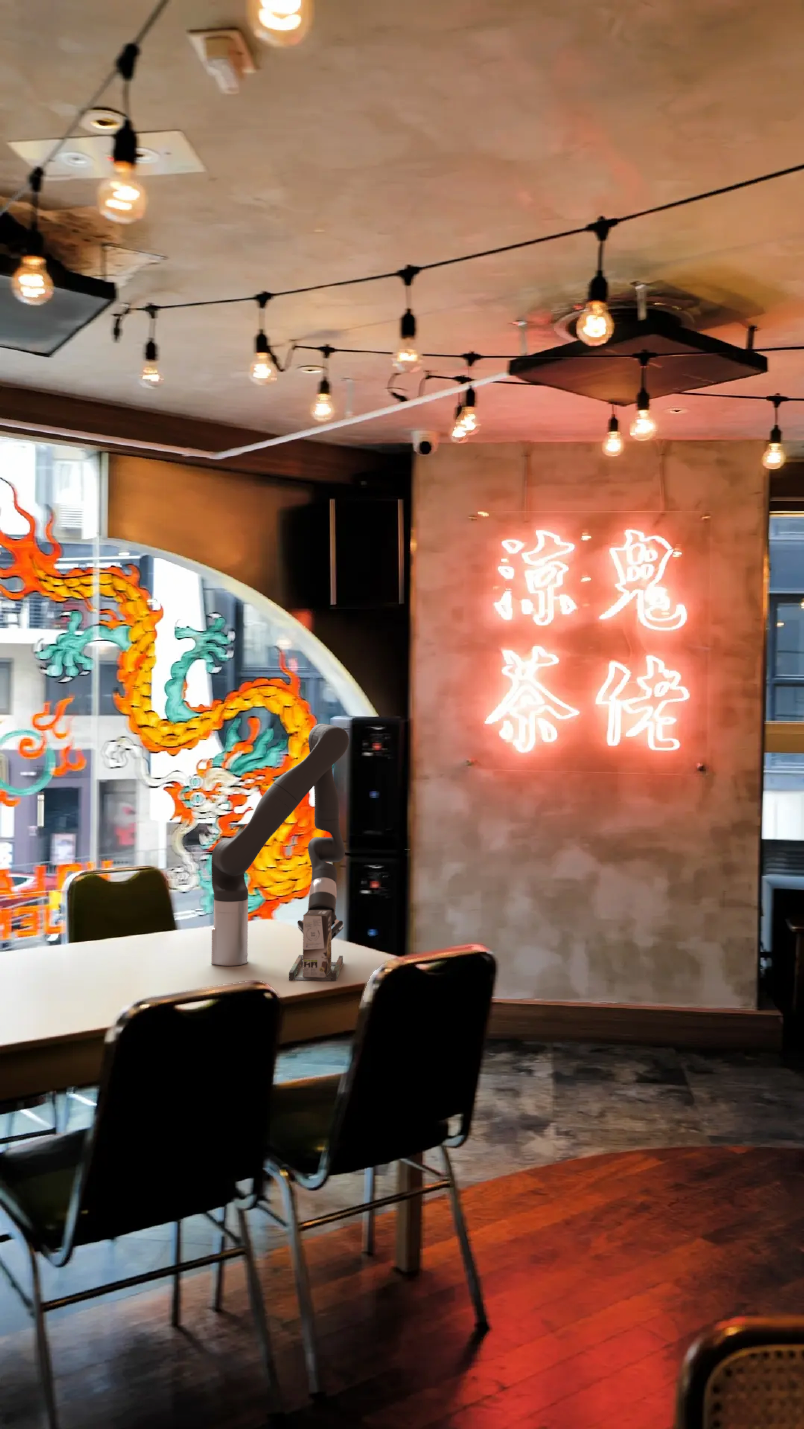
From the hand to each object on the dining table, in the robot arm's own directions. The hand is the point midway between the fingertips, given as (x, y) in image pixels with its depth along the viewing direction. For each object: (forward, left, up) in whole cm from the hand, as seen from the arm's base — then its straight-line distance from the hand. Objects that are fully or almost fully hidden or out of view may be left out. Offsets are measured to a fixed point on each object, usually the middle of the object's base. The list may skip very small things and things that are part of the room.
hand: (318, 953), depth 300 cm
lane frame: (0, -2, -4) cm, 5 cm away
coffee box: (0, -5, -5) cm, 7 cm away
